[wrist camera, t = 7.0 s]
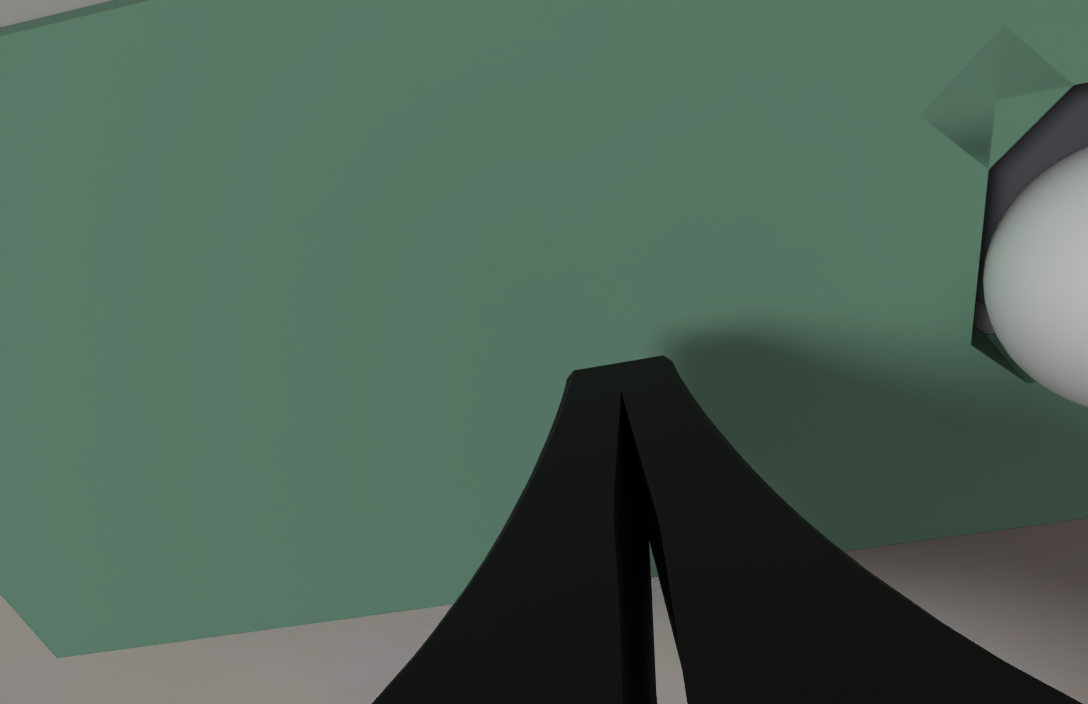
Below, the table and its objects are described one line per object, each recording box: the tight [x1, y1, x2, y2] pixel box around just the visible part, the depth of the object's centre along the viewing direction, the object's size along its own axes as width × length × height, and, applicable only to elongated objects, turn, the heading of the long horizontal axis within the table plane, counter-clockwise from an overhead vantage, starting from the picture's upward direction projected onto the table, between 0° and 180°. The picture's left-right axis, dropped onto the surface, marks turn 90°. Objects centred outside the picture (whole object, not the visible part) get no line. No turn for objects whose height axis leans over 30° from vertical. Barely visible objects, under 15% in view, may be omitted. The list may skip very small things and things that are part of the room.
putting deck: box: [0, 0, 1088, 658], centre depth 13 cm, size 12×27×2 cm, turn 102°
